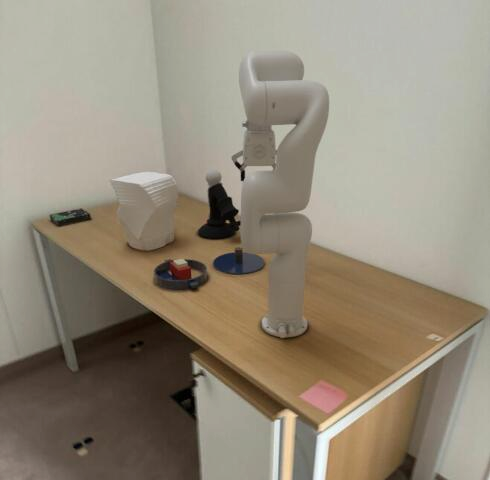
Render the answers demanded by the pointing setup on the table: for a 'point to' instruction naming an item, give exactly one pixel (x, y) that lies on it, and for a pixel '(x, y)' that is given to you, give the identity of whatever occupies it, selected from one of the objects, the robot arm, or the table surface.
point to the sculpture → (219, 210)
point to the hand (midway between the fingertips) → (258, 183)
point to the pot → (170, 282)
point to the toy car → (180, 269)
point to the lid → (238, 262)
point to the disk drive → (70, 217)
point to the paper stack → (147, 208)
